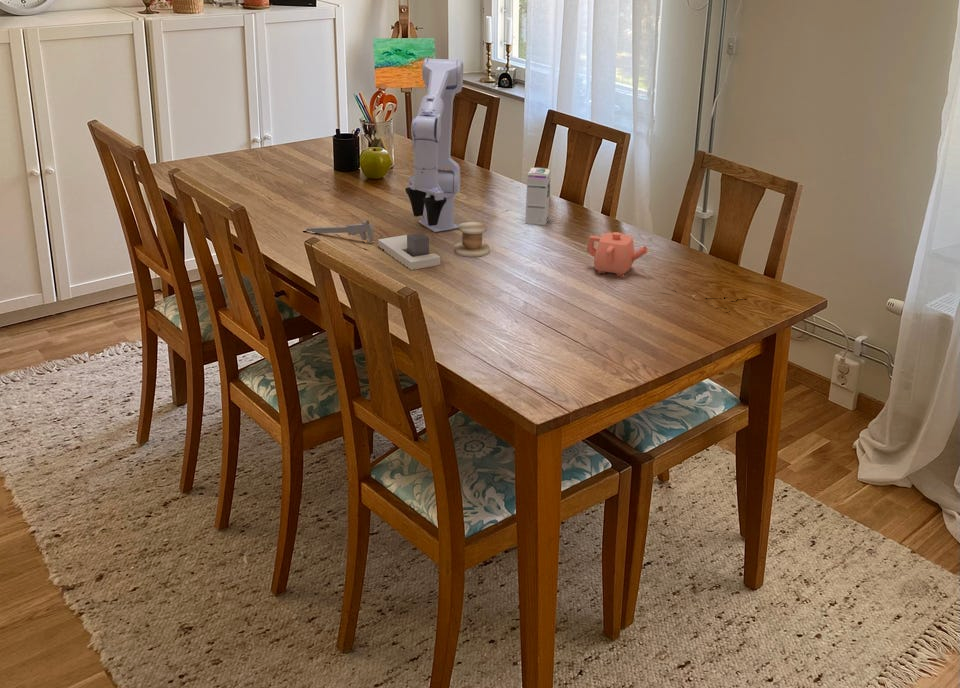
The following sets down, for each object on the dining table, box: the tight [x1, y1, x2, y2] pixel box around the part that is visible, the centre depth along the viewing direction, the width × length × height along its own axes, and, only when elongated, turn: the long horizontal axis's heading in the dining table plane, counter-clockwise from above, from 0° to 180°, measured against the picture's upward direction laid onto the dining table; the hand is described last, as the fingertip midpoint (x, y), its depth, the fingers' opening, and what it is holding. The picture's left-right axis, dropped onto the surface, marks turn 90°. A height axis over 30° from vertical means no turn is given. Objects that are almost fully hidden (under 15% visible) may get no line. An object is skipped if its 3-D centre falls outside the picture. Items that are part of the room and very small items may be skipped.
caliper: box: [306, 219, 375, 243], centre depth 260 cm, size 20×1×6 cm, turn 69°
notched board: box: [377, 234, 441, 271], centre depth 250 cm, size 18×8×2 cm, turn 31°
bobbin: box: [453, 221, 491, 258], centre depth 254 cm, size 9×9×6 cm
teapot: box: [586, 231, 649, 277], centre depth 244 cm, size 12×12×10 cm
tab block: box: [406, 232, 430, 257], centre depth 248 cm, size 4×4×6 cm
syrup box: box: [525, 167, 552, 226], centre depth 275 cm, size 6×6×14 cm
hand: (425, 220), depth 247 cm, fingers open, 7 cm apart
